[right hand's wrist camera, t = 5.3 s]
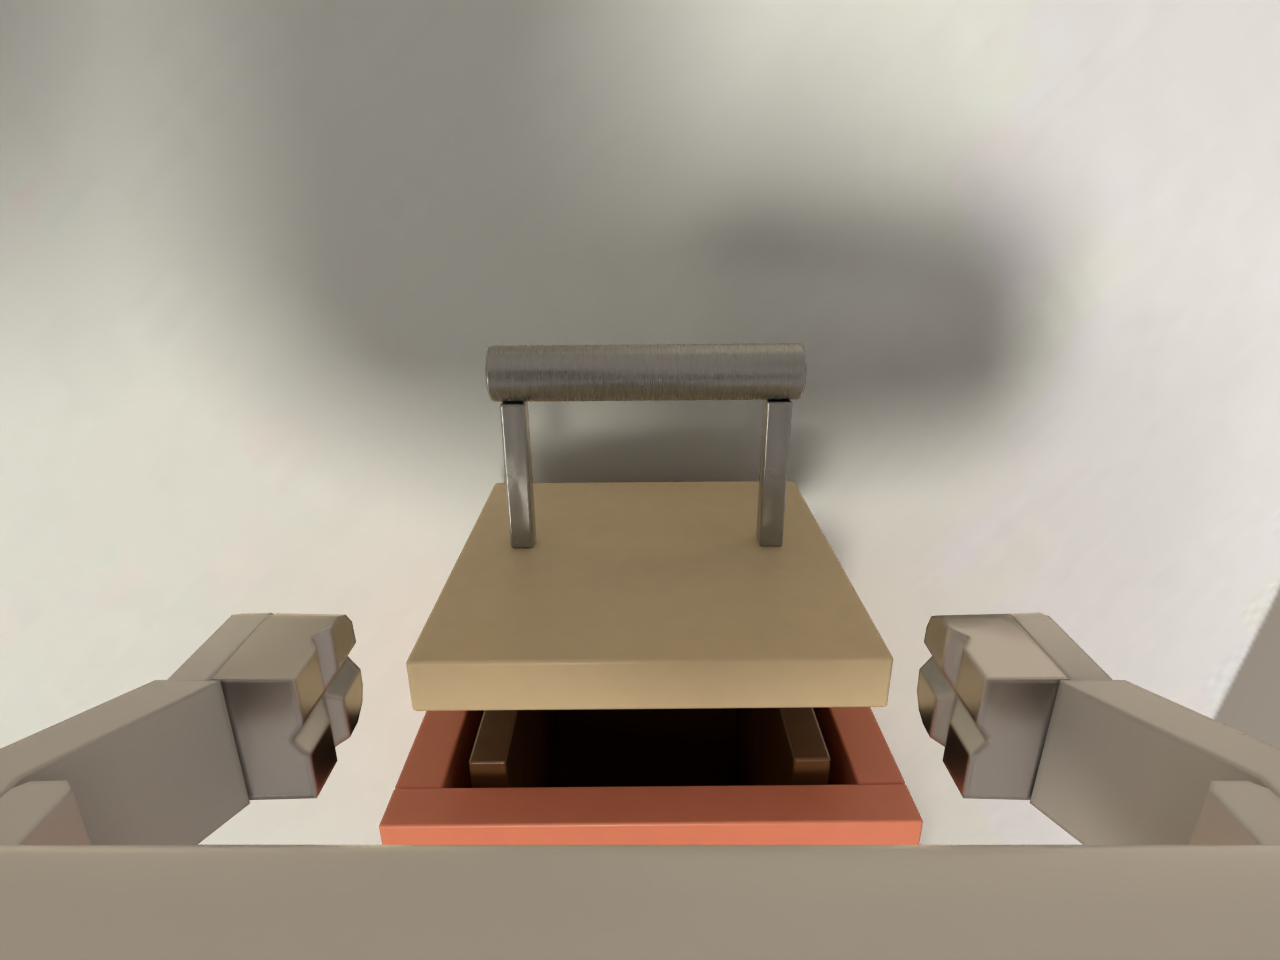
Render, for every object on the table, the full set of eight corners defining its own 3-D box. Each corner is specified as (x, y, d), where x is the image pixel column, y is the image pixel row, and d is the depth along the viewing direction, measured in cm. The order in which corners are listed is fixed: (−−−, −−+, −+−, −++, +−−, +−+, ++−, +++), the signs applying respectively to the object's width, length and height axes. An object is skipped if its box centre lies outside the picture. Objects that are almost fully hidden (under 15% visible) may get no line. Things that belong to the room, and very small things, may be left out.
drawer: (481, 318, 21) (367, 403, 12) (806, 315, 21) (931, 399, 12) (526, 863, 29) (476, 1163, 20) (766, 860, 29) (825, 1160, 20)
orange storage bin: (489, 555, 25) (377, 825, 14) (799, 552, 25) (924, 821, 14) (521, 920, 32) (461, 1302, 21) (770, 917, 32) (842, 1298, 21)
